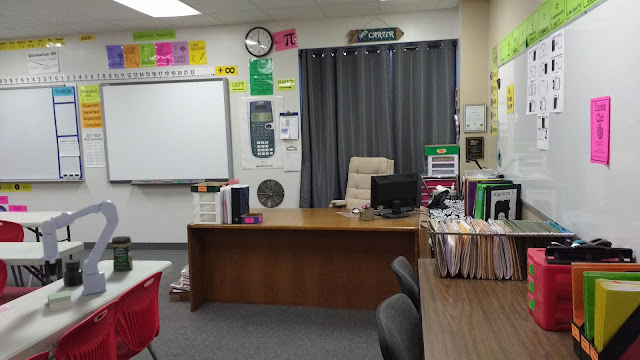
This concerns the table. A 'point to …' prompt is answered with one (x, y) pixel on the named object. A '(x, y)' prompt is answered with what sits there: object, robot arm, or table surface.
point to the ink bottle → (72, 273)
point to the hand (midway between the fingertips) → (53, 275)
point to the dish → (60, 305)
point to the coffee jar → (122, 253)
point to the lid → (59, 297)
